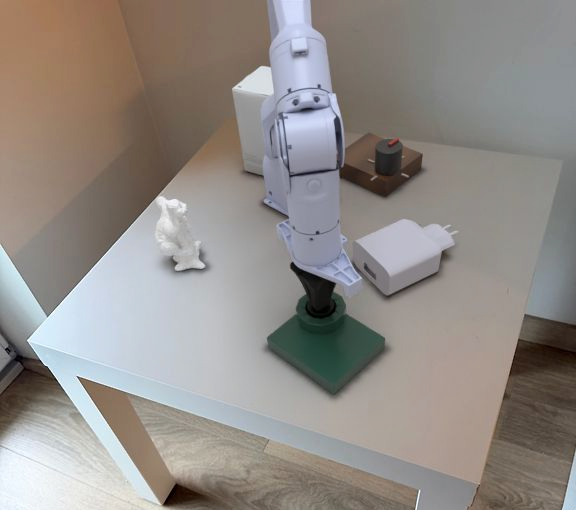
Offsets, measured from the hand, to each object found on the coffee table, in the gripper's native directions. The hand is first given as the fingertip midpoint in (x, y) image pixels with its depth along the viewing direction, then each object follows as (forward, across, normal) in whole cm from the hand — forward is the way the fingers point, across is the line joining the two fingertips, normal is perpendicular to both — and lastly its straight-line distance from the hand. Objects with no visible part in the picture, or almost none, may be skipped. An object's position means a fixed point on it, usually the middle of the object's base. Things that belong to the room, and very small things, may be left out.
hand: (320, 305), depth 71 cm
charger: (+4, +2, -18) cm, 19 cm away
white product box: (+4, +38, -18) cm, 42 cm away
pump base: (+4, -3, +2) cm, 6 cm away
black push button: (+2, 0, 0) cm, 2 cm away
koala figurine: (+4, +25, +8) cm, 27 cm away
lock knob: (+1, +19, -29) cm, 34 cm away
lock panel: (+4, +22, -29) cm, 37 cm away
